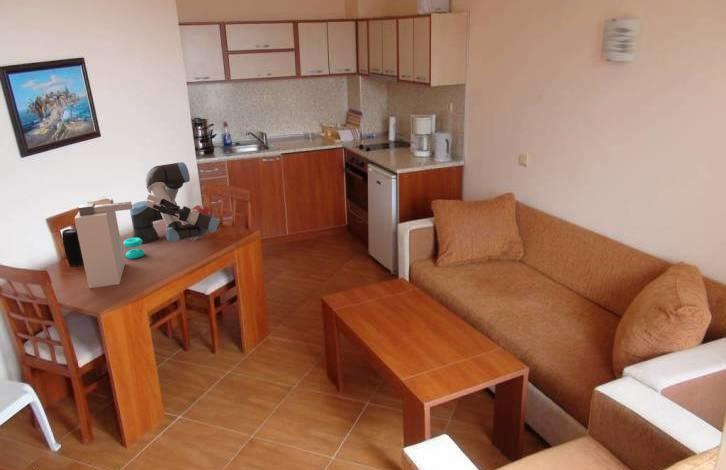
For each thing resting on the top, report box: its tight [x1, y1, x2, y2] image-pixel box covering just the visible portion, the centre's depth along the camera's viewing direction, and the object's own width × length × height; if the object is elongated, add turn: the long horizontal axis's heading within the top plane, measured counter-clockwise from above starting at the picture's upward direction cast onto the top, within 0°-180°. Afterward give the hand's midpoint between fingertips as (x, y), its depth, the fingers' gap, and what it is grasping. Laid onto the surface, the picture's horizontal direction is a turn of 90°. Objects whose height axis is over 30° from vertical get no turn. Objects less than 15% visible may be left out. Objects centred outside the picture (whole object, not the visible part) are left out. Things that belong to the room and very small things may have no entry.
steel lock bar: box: [78, 201, 133, 216], centre depth 275 cm, size 23×8×4 cm, turn 107°
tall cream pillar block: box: [74, 199, 126, 289], centre depth 286 cm, size 14×30×37 cm, turn 17°
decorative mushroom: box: [192, 204, 212, 217], centre depth 363 cm, size 13×13×15 cm
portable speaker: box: [62, 228, 84, 267], centre depth 306 cm, size 9×9×20 cm
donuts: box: [123, 237, 145, 260], centre depth 316 cm, size 10×10×10 cm
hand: (147, 199), depth 280 cm, fingers open, 13 cm apart
